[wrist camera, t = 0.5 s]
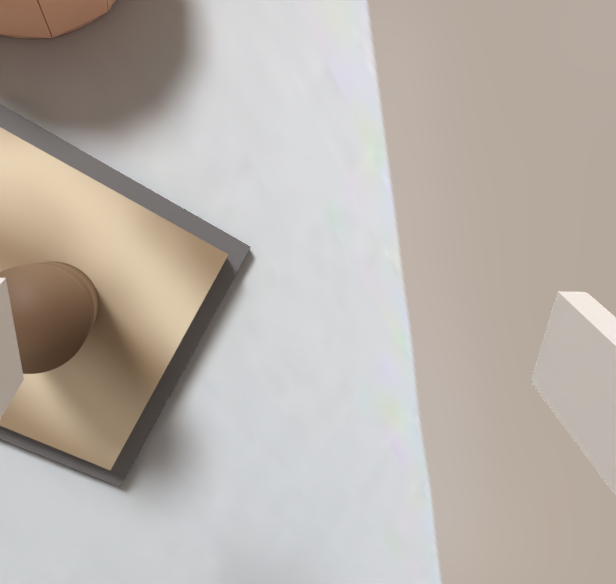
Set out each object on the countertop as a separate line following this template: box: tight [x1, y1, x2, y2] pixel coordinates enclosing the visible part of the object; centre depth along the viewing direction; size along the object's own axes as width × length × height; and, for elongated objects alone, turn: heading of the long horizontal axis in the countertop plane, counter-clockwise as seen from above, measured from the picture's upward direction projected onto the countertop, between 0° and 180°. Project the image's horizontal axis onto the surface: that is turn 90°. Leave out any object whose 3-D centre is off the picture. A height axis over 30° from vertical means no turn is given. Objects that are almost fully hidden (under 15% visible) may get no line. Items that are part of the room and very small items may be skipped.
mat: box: [0, 105, 250, 487], centre depth 28 cm, size 14×14×1 cm
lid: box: [0, 127, 228, 470], centre depth 24 cm, size 12×12×7 cm
